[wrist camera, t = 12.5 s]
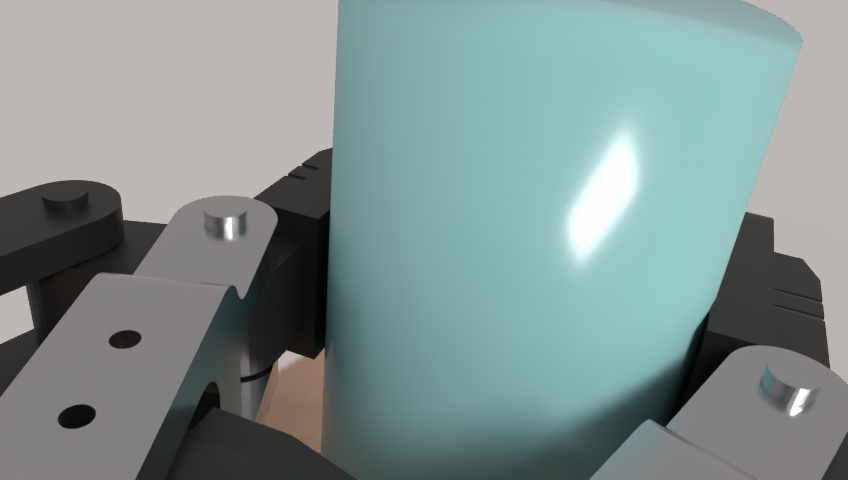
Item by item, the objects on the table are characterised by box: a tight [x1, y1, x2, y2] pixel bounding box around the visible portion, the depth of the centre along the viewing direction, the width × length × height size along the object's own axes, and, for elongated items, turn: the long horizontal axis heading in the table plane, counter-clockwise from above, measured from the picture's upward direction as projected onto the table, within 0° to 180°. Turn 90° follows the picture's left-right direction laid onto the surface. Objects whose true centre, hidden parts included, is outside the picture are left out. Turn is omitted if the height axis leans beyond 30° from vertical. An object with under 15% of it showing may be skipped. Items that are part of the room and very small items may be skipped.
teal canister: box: [321, 0, 803, 480], centre depth 11 cm, size 5×5×10 cm
